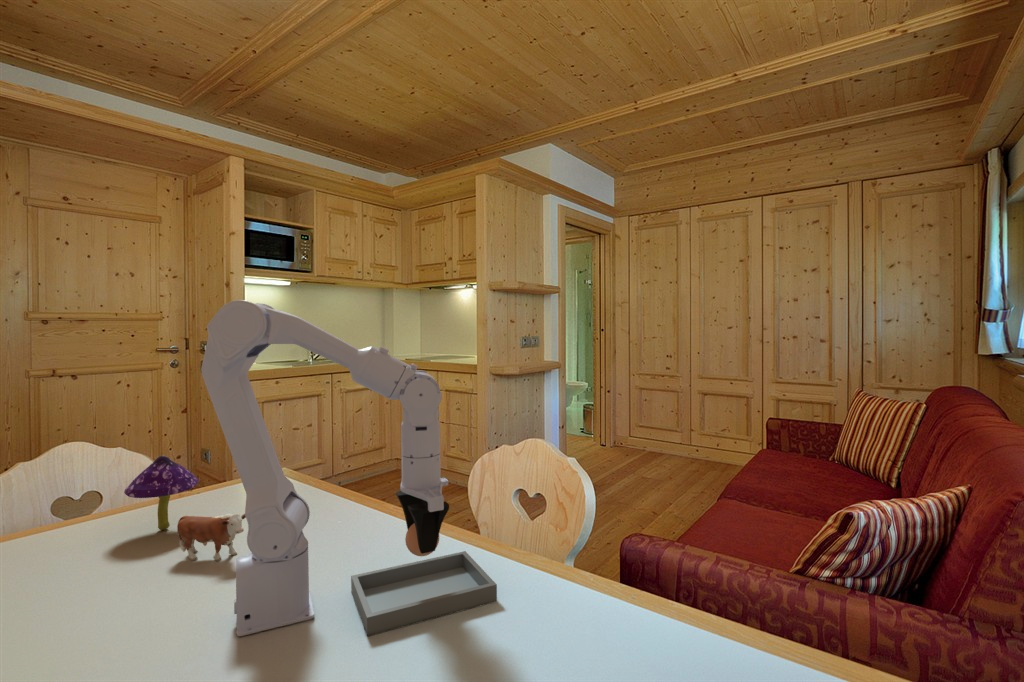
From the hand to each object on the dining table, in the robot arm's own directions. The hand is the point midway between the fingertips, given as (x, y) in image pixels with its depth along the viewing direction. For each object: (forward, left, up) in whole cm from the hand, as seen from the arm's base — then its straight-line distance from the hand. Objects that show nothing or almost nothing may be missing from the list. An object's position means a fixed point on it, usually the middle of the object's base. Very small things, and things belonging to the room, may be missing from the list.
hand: (422, 544), depth 76 cm
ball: (0, 0, +1) cm, 1 cm away
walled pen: (0, 0, -8) cm, 8 cm away
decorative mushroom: (-39, +49, -8) cm, 63 cm away
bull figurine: (-29, +30, -8) cm, 43 cm away
